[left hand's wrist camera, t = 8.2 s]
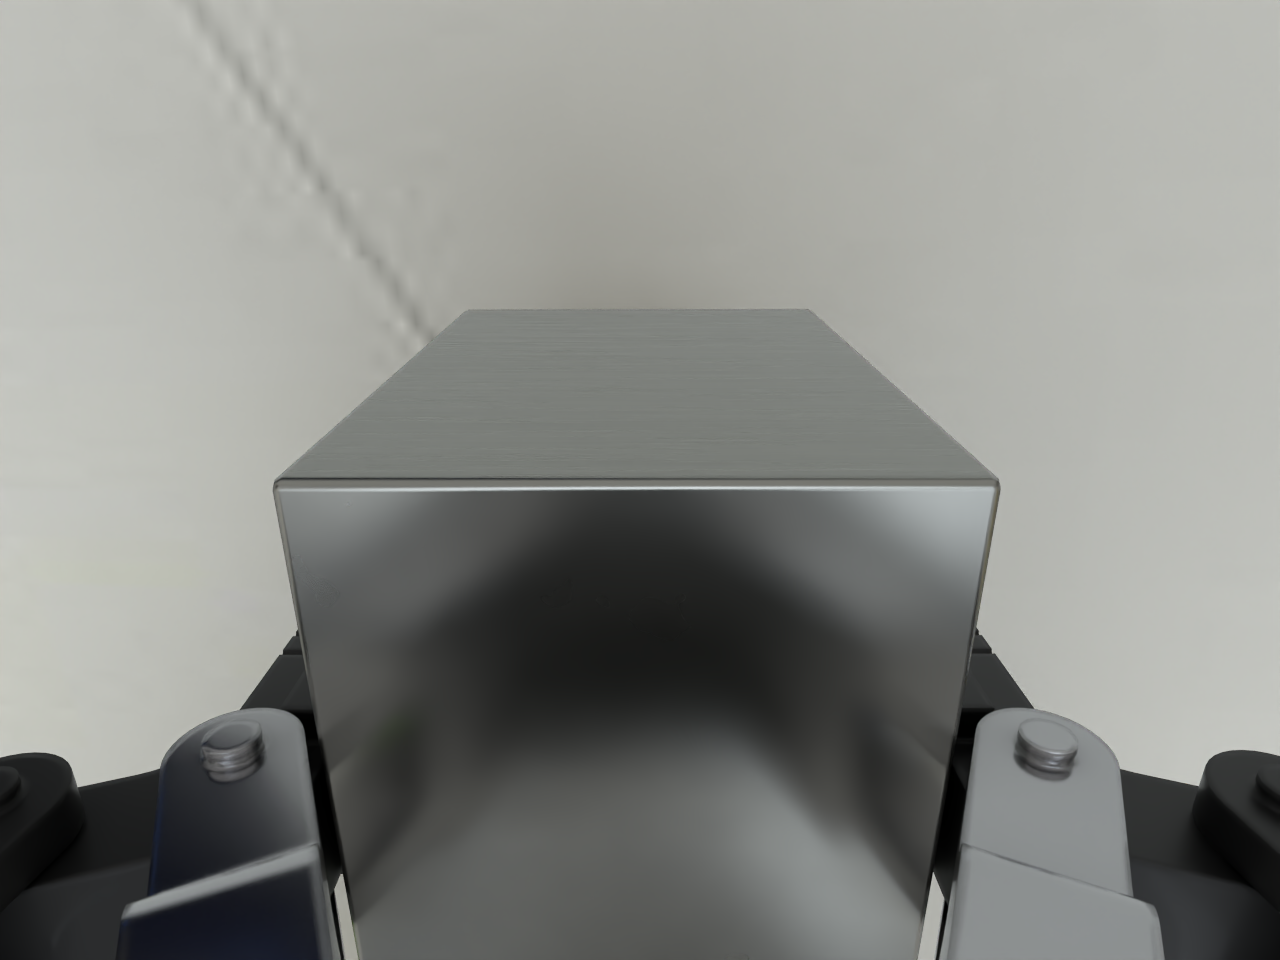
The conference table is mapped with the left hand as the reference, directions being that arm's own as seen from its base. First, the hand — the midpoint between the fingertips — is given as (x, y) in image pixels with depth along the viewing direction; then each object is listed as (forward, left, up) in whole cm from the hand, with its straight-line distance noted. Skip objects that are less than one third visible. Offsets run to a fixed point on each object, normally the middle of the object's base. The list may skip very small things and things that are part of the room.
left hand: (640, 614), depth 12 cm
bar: (+8, +2, -4) cm, 9 cm away
